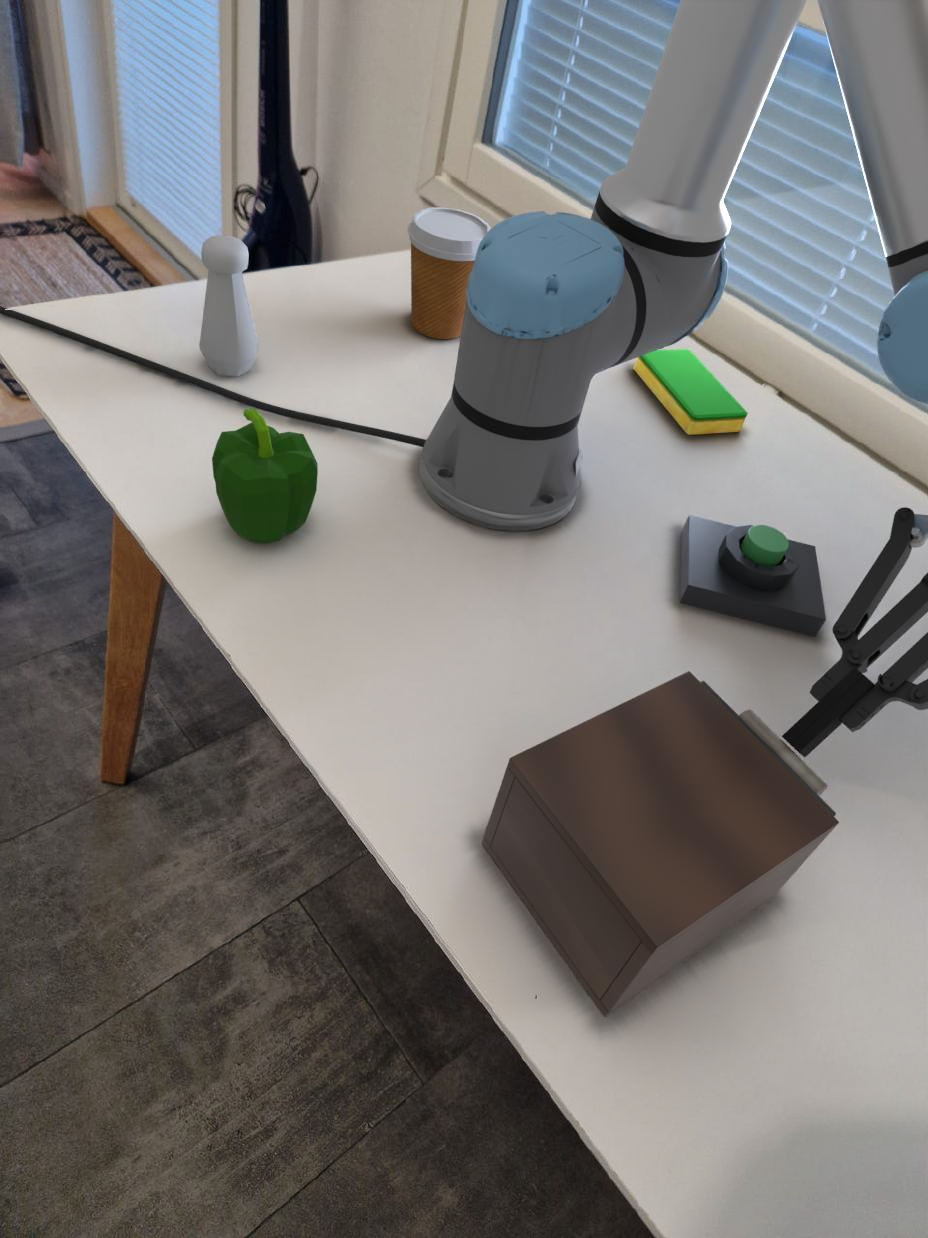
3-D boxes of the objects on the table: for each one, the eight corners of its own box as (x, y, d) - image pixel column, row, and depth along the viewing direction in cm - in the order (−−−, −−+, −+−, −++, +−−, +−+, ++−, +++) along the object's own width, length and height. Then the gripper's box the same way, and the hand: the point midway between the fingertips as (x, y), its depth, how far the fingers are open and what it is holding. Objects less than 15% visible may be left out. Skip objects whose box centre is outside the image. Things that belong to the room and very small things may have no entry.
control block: (679, 603, 75) (695, 569, 72) (681, 532, 82) (695, 499, 79) (815, 637, 75) (836, 604, 72) (805, 563, 82) (824, 531, 79)
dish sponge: (682, 366, 105) (689, 347, 103) (741, 432, 97) (750, 413, 95) (631, 368, 103) (637, 349, 101) (687, 436, 94) (694, 416, 92)
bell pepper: (323, 552, 72) (329, 454, 65) (221, 560, 70) (216, 458, 63) (306, 489, 78) (310, 392, 71) (211, 494, 75) (205, 394, 68)
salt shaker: (270, 367, 91) (270, 244, 81) (232, 388, 87) (227, 261, 78) (228, 345, 92) (223, 222, 83) (188, 365, 89) (178, 238, 79)
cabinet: (644, 756, 63) (689, 670, 56) (771, 899, 56) (839, 822, 49) (480, 843, 56) (509, 757, 49) (604, 1018, 49) (657, 947, 42)
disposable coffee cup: (477, 352, 100) (496, 248, 91) (394, 339, 99) (406, 234, 90) (477, 313, 106) (495, 213, 98) (400, 301, 105) (411, 199, 97)
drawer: (705, 727, 64) (745, 658, 59) (822, 849, 59) (879, 785, 53) (517, 828, 56) (543, 759, 50) (631, 982, 50) (676, 923, 45)
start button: (741, 561, 75) (749, 546, 73) (739, 535, 77) (747, 520, 76) (782, 571, 75) (790, 556, 73) (779, 545, 77) (787, 530, 76)
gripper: (1160, 569, 54) (875, 824, 58) (979, 455, 61) (735, 690, 65) (1186, 529, 48) (865, 818, 52) (981, 406, 55) (711, 670, 59)
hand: (793, 747), depth 59 cm, fingers closed
